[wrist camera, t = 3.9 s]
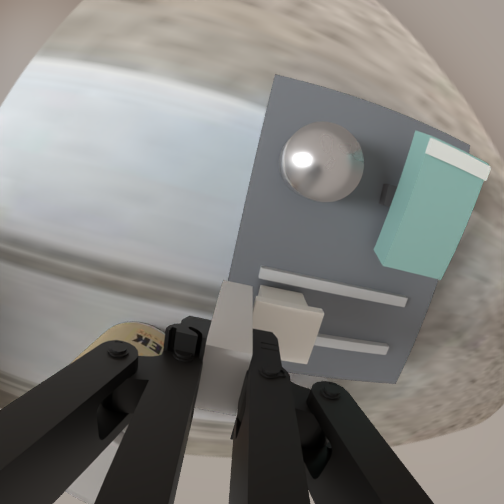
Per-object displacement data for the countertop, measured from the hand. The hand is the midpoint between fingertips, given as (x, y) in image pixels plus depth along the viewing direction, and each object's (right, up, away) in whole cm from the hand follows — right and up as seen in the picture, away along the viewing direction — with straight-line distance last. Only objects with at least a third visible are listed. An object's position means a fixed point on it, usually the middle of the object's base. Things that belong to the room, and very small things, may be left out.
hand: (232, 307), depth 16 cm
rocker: (+10, +5, -1) cm, 12 cm away
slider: (+2, 0, +2) cm, 3 cm away
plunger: (+4, +7, 0) cm, 8 cm away
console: (+7, +4, +5) cm, 9 cm away
